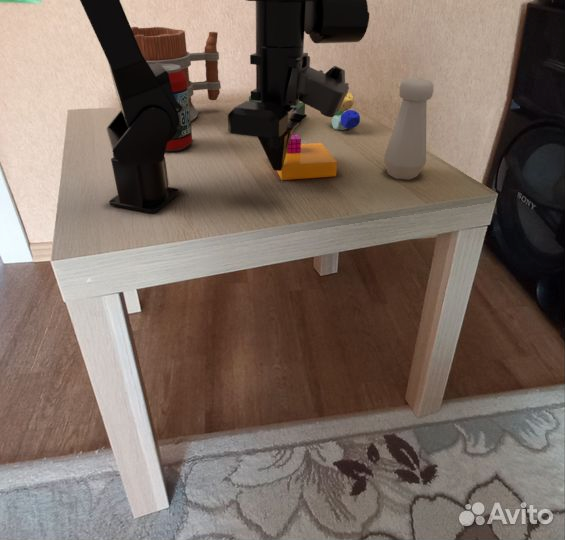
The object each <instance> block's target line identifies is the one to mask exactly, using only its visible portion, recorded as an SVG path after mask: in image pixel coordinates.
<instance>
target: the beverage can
mask: <svg viewBox="0 0 565 540" xmlns="http://www.w3.org/2000/svg"><path fill="white" fill-rule="evenodd" d="M149 66H151V65H149ZM161 66H162V67H163V68H164V69H165V70H166V71H167V72H168V75H169V78H170V83H171V87H172V92H173V95H174V97H175V99H176V100H177V101H178V102H179V104H180V105H181V106H182V109H177V108H176V110H177V112H178V116H179V120H180V122H179V128H178V130H177V132H176V134H175V136H174V137H173V138H172V139H171V140H170V141H169V142H167V146H166V150H165V152H173V151H180V150H183V149H186V148H187V147H188V146H189V145H190V144H191V143H192V142H193V132H192V121H191V119H190V108H189V98H188V89H187V79H186V77H185V75H184V73H183V72H182V70H181V67H180V66H179V65H175V64H161Z"/></svg>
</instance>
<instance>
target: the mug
mask: <svg viewBox="0 0 565 540" xmlns="http://www.w3.org/2000/svg"><path fill="white" fill-rule="evenodd" d="M130 27H131V29H132V32H133V34H134V36H135V39H136V41H137V44H138V46H139V48H140V51H141V53H142V55H143V57H144V58H145V60H146V62H147V63H148V65H153V64H155V63H156V62H159V63H160V64H175V65H179V66H180V67H181V70H182V72H183V73H184V75H185V77H186V79H187V89H188V98H189V108H190V119H191V122H193V121H194V120H195V119H196V118H197V116H198V115H199V114H198V111H197V109H196V108H195V106H194V104H193V102H192V97H193V96H194V91H202V90H203V91H204V90H206V91H207V99H208V100H209V101H217V100H218V98H219V95H220V93H221V91H220V90H221V89H222V86H221V80H220V79H219V69H218V68H219V60H220V53H219V51H218V48H217V45H218V44H217V43H218V33H219V32H217V31H208V37H207V39H206V41H205V46H204V51H202V52H189V51H188V50H187V39H186V31H185V30H183V29H176V28H171V27H165V26H164V27H163V26H151V27H139V26H130ZM198 61H201V62H202V61H204V62H205V64H204V67H205V80H204V81H191V80H190V73H189V67H190V66H192V62H198Z"/></svg>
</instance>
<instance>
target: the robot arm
mask: <svg viewBox="0 0 565 540" xmlns="http://www.w3.org/2000/svg"><path fill="white" fill-rule="evenodd" d="M79 1H80V3H81V6H82V8H83V10H84V13H85V15H86V16H87V19H88V21H89V23H90V25H91V27H92V30H93V33H94V34H95V37H96V38H97V41H98V42H99V44H100V46H101V49H102V51H103V53H104V55H105V57H106V60H107V64H108V67H109V70H110V75H111V78H112V82H113V86H114V90H115V94H116V97H117V101H118V104H119V107H120V110H119V111H118V113H117V114H116V115H115V116H114V118H113V119H112V120H111V122H110V123H109V124H108V125H107V127H106V133H107V136H108V139H109V143H110V147H111V150H112V158H110V162H111V166H112V167H111V168H112V172H113V176H114V182H115V186H116V191H117V195H115V196H114V197H112V198H111V199H109V200H108V204H109V206H111V207H117V208H122V209H128V210H133V211H139V212H145V213H150V214H154V213H156V212H158V211H159V210H160V209H162V208H163V207H164V206H165V205H166V204H168V203H169V202H170V201H171V200H173V199H174V198H175V197H176V196H178V195H179V194H180V190H179V188H175V187H170V186H169V177H168V170H167V161H166V156H165V155H166V151H165V150H166V146H167V142H169V141H170V140H171V139H172V138H173V137H174V136H175V134H176V132H177V130H178V128H179V122H180V120H179V116H178V112H177V110H176V108H177V109H182V106H181V105H180V104H179V102H178V101H177V100H176V99H175V97H174V95H173V92H172V87H171V83H170V78H169V75H168V72H167V71H166V70H165V69H164V68H163V67H162V66H161V64H160V63H159V62H156V63H155V64H153V65H151V66H149V65H148V63H147V62H146V60H145V58H144V57H143V55H142V53H141V51H140V48H139V46H138V44H137V41H136V39H135V36H134V34H133V32H132V29H131V27H132V26H131V25H130V22H129V19H128V17H127V15H126V13H125V10H124V8H123V5H122V3H121V0H79ZM246 1H247V2H255V52H254V53H251V54H250V55H249V64H250V65H255V88H254V89H253V90H250V96H251V100H256V101H261V102H251V101H249V100H245V101H243V102H241V103H240V104H238V105H237V106H235V107H233V109H232V110H231V111H230V112H229V113H228V114H227V130H228V133H230V134H236V135H246V136H253V137H257V139H258V141H259V143H260V144H261V147H262V149H263V151H264V153H265V155H266V157H267V159H268V161H269V163H270V166H271V167H272V170H273V171H275V172H277V171H281V170H282V167H283V164H284V160H285V157H286V153H287V150H288V146H289V143H290V139H291V136H292V135H293V133H294V130H295V129H296V128H297V127H298V126H299V125H300V124H301V123H302V122H303V121H304V120H306V118H308V114H306V113H305V114H299V113H297V108H294V106H296V105H297V104H298V103H299V102H301V103H304V104H305V106H309V107H310V108H313V109H315V110H316V111H318V112H319V113H320V114H321V115H322V116H325V117H328V118H333V117H334V115H335V114H336V113H337V112H338V111H339V109H340V107H341V105H342V103H343V100H344V98H345V96H346V95H347V93H348V92H349V89H350V86H349V84H350V83H348V82H346V70H345V69H343V68H342V67H339V66H337V65H334V66H332V67H331V68H330V69H328V70H327V71H326V72H324V70H322V69H320V70H317V69H315V68H313V67H311V57H310V55H309V53H308V52H304V49H305V34H306V35H309V36H308V37H309V38H310V40H311V42H312V43H314V44H342V43H344V44H347V43H358V42H359V43H360V41H362V39H363V38H364V37H365V35H366V33H367V30H368V27H369V21H370V12H369V7H368V0H246ZM298 124H299V125H298ZM297 125H298V126H297Z"/></svg>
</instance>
